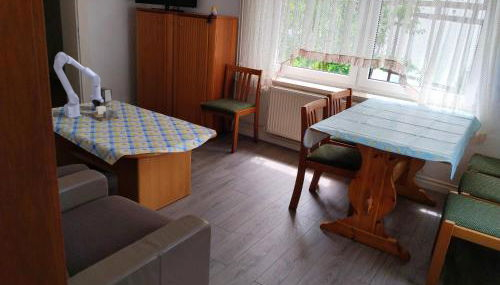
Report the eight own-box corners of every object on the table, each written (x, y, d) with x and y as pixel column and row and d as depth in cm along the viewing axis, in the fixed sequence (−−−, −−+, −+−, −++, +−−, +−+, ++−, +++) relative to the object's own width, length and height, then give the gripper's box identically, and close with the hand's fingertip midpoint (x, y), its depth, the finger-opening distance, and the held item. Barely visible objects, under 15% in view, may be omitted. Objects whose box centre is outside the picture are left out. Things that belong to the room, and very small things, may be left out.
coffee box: (112, 109, 297) (112, 89, 292) (105, 111, 292) (104, 90, 287) (104, 107, 302) (104, 87, 296) (97, 108, 296) (96, 88, 291)
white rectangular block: (94, 115, 274) (94, 108, 273) (92, 114, 276) (92, 107, 274) (105, 113, 281) (105, 106, 279) (103, 112, 282) (103, 105, 281)
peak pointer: (95, 115, 273) (94, 112, 273) (94, 115, 274) (94, 112, 273) (97, 115, 275) (97, 111, 274) (97, 115, 275) (97, 111, 274)
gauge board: (102, 121, 268) (101, 113, 266) (88, 115, 278) (87, 107, 276) (118, 118, 278) (118, 110, 276) (104, 112, 288) (104, 104, 286)
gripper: (107, 92, 276) (107, 111, 281) (95, 88, 284) (96, 106, 289) (98, 94, 271) (98, 112, 275) (86, 89, 279) (87, 108, 283)
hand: (97, 109), depth 282 cm, fingers closed
